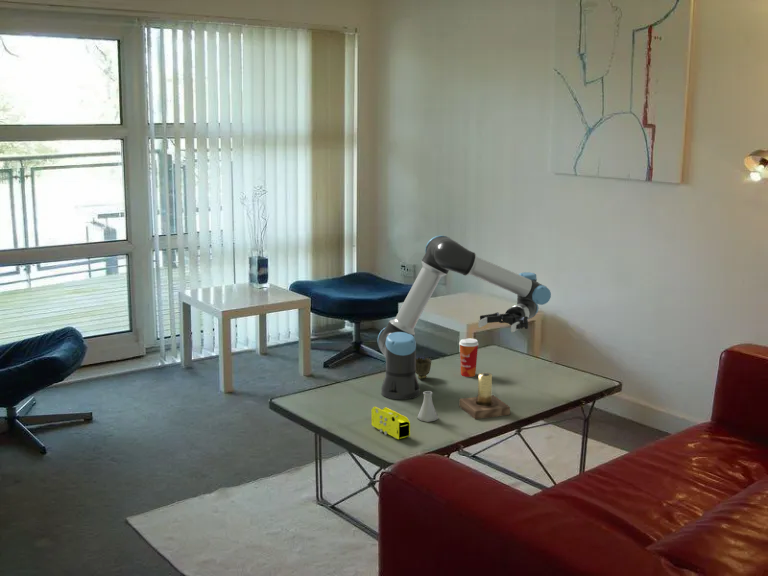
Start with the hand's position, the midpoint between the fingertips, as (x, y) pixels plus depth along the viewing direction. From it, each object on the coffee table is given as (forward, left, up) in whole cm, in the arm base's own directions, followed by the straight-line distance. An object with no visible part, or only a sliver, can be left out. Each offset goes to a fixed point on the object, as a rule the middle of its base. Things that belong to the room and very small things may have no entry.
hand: (495, 326), depth 325 cm
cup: (-18, +29, -28) cm, 45 cm away
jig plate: (-10, -14, -28) cm, 33 cm away
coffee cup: (+2, +27, -28) cm, 39 cm away
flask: (-33, -15, -28) cm, 46 cm away
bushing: (-10, -14, -28) cm, 33 cm away
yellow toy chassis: (-51, -23, -28) cm, 63 cm away
